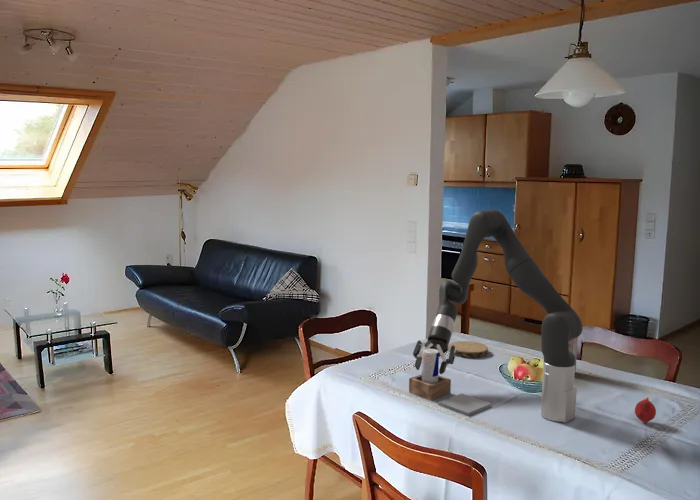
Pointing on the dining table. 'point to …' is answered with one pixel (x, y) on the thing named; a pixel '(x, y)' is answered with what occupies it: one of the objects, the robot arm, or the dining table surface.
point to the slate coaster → (464, 404)
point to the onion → (645, 410)
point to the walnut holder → (430, 387)
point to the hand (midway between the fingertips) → (428, 371)
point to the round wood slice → (470, 349)
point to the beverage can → (430, 365)
